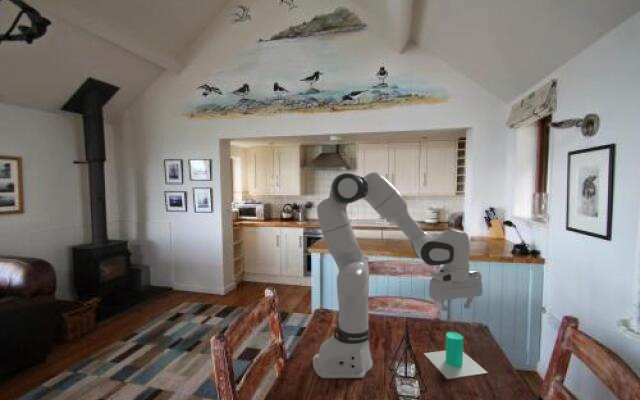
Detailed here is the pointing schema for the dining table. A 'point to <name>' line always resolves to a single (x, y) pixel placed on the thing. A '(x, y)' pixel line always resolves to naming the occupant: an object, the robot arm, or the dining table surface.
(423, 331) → the dining table surface
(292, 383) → the dining table surface
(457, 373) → the tile
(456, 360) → the candle
